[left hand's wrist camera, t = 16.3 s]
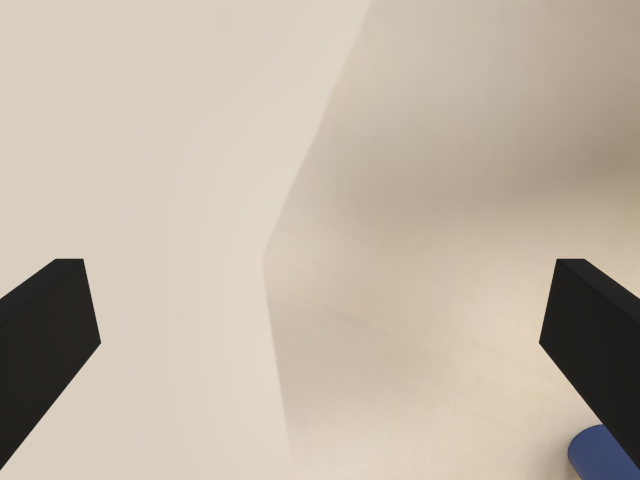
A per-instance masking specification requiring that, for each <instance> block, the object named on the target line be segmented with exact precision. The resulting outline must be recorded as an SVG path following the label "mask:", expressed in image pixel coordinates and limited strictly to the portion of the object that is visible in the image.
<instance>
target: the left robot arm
mask: <svg viewBox="0 0 640 480" xmlns="http://www.w3.org/2000/svg"><path fill="white" fill-rule="evenodd" d="M100 344H101V340H100V335H99V331H98V326H97V321H96V316H95V312H94V307H93V302H92V298H91V293H90V288H89V284H88V279H87V274H86V269H85V265H84V260H83V259H55V260H53V261H52V262H50V263H49V264H48V265H46V266H45V267H44V268H42V269H41V270H39V271H38V272H37V273H35V274H34V275H33V276H31V277H30V278H28V279H27V280H26V281H24V282H23V283H22V284H20V285H19V286H17V287H16V288H15V289H13V290H12V291H11V292H9V293H8V294H7V295H5V296H4V297H2V298H1V299H0V470H1V469H2V468H3V466H4V465H5V464H6V463H7V461H8V460H9V459H10V457H11V456H12V455H13V454H14V452H15V451H16V450H17V449H18V447H19V446H20V445H21V444H22V442H23V441H24V440H25V438H26V437H27V436H28V435H29V433H30V432H31V431H32V430H33V428H34V427H35V426H36V425H37V423H38V422H39V421H40V420H41V418H42V417H43V416H44V414H45V413H46V412H47V411H48V409H49V408H50V407H51V406H52V404H53V403H54V402H55V401H56V399H57V398H58V397H59V396H60V394H61V393H62V392H63V390H64V389H65V388H66V387H67V385H68V384H69V383H70V382H71V380H72V379H73V378H74V377H75V375H76V374H77V373H78V372H79V370H80V369H81V368H82V366H83V365H84V364H85V363H86V361H87V360H88V359H89V358H90V356H91V355H92V354H93V353H94V351H95V350H96V349H97V348H98V346H99V345H100ZM539 344H540V345H541V346H542V348H543V349H544V350H545V351H546V353H547V354H548V355H549V356H550V358H551V359H552V360H553V361H554V363H555V364H556V365H557V366H558V368H559V369H560V370H561V372H562V373H563V374H564V375H565V377H566V378H567V379H568V380H569V382H570V383H571V384H572V385H573V387H574V388H575V389H576V390H577V392H578V393H579V394H580V396H581V397H582V398H583V399H584V401H585V402H586V403H587V404H588V406H589V407H590V408H591V409H592V411H593V412H594V413H595V415H596V416H597V417H598V418H599V420H600V421H601V422H602V423H603V425H604V426H605V427H606V428H607V430H608V431H609V432H610V433H611V435H612V436H613V437H614V439H615V440H616V441H617V442H618V444H619V445H620V446H621V447H622V449H623V450H624V451H625V452H626V454H627V455H628V456H629V457H630V459H631V460H632V461H633V463H634V464H635V465H636V466H637V468H638V469H639V470H640V299H639V298H638V297H636V296H635V295H634V294H632V293H631V292H629V291H628V290H627V289H625V288H624V287H623V286H621V285H620V284H618V283H617V282H616V281H614V280H613V279H612V278H610V277H609V276H607V275H606V274H605V273H603V272H602V271H601V270H599V269H598V268H596V267H595V266H594V265H592V264H591V263H590V262H588V261H587V260H585V259H557V260H556V265H555V269H554V274H553V279H552V284H551V288H550V293H549V298H548V302H547V307H546V312H545V316H544V321H543V326H542V331H541V335H540V340H539Z"/></svg>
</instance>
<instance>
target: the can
mask: <svg viewBox="0 0 640 480" xmlns="http://www.w3.org/2000/svg"><path fill="white" fill-rule="evenodd" d="M568 457H569V460H570V462H571V464H572V465H573V467H574V468H575V470H576V472H577V473H578V475H579V476H580V478H581V480H640V470H639V469H638V468H637V466H636V465H635V464H634V463H633V461H632V460H631V459H630V457H629V456H628V455H627V454H626V452H625V451H624V450H623V449H622V447H621V446H620V445H619V444H618V442H617V441H616V440H615V439H614V437H613V436H612V435H611V433H610V432H609V431H608V430H607V428H606V427H605V426H604V425H597V426H593V427H591V428H588V429H586V430H584V431H583V432H581V433H580V434H578V435H577V436H576V437H575V438H574V439H573V441H572V442H571V444H570V446H569V449H568Z"/></svg>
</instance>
